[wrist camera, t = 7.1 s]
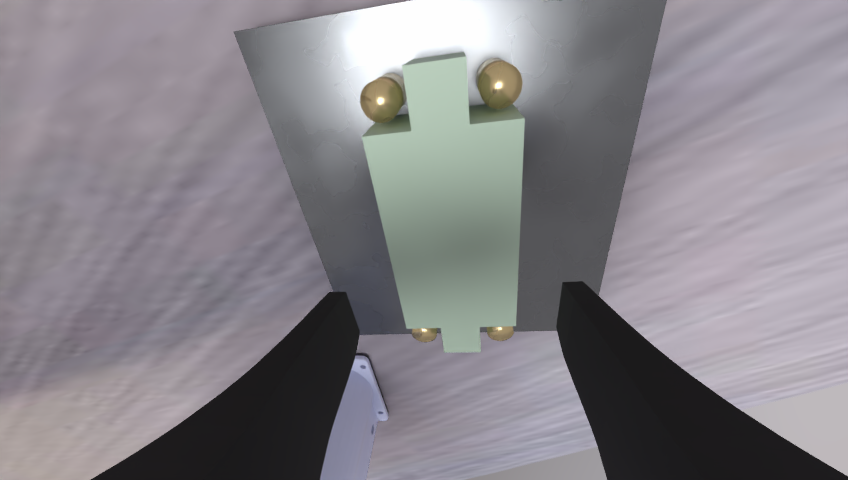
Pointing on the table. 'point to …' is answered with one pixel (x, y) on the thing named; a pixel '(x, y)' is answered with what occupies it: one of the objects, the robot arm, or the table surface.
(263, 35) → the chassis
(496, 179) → the pale green block
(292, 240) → the table surface
